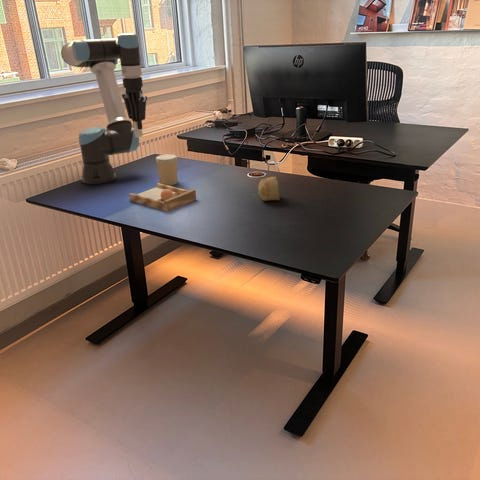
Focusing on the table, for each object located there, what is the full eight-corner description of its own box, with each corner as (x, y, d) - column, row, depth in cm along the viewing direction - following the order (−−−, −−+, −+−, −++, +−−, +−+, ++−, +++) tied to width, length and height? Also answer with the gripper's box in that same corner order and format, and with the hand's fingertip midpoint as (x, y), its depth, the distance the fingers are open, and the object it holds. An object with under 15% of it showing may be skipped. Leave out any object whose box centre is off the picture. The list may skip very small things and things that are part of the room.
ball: (168, 197, 184) (164, 205, 188) (177, 193, 188) (173, 201, 191) (160, 189, 185) (156, 197, 188) (169, 184, 188) (164, 192, 192)
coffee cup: (181, 179, 215) (179, 153, 210) (176, 186, 207) (174, 159, 202) (161, 179, 216) (158, 154, 211) (156, 186, 208) (153, 159, 202)
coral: (288, 186, 180) (264, 177, 178) (277, 208, 185) (254, 200, 183) (286, 177, 188) (263, 168, 187) (276, 198, 193) (254, 190, 191)
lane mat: (131, 199, 193) (131, 196, 192) (157, 190, 203) (156, 187, 202) (166, 210, 181) (166, 206, 181) (191, 199, 191) (191, 195, 190)
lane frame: (129, 200, 192) (128, 191, 190) (158, 189, 203) (157, 180, 202) (167, 211, 180) (166, 201, 178) (196, 199, 191) (195, 189, 189)
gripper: (113, 76, 184) (121, 136, 195) (135, 79, 177) (142, 141, 188) (128, 74, 190) (135, 132, 200) (150, 76, 182) (156, 137, 193)
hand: (139, 136), depth 194 cm, fingers closed
